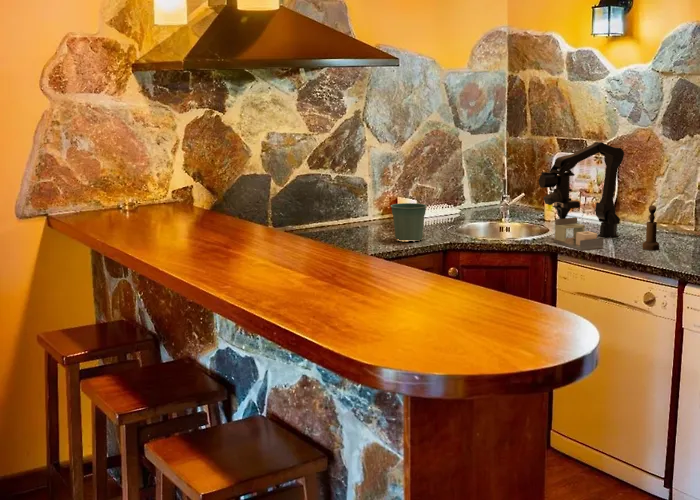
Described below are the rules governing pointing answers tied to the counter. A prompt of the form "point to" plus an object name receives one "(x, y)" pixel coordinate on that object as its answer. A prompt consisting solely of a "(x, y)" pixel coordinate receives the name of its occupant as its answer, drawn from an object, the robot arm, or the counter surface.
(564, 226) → the cover
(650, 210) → the brown pedestal figurine
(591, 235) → the collar
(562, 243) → the housing base
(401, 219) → the flower pot
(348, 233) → the counter surface
